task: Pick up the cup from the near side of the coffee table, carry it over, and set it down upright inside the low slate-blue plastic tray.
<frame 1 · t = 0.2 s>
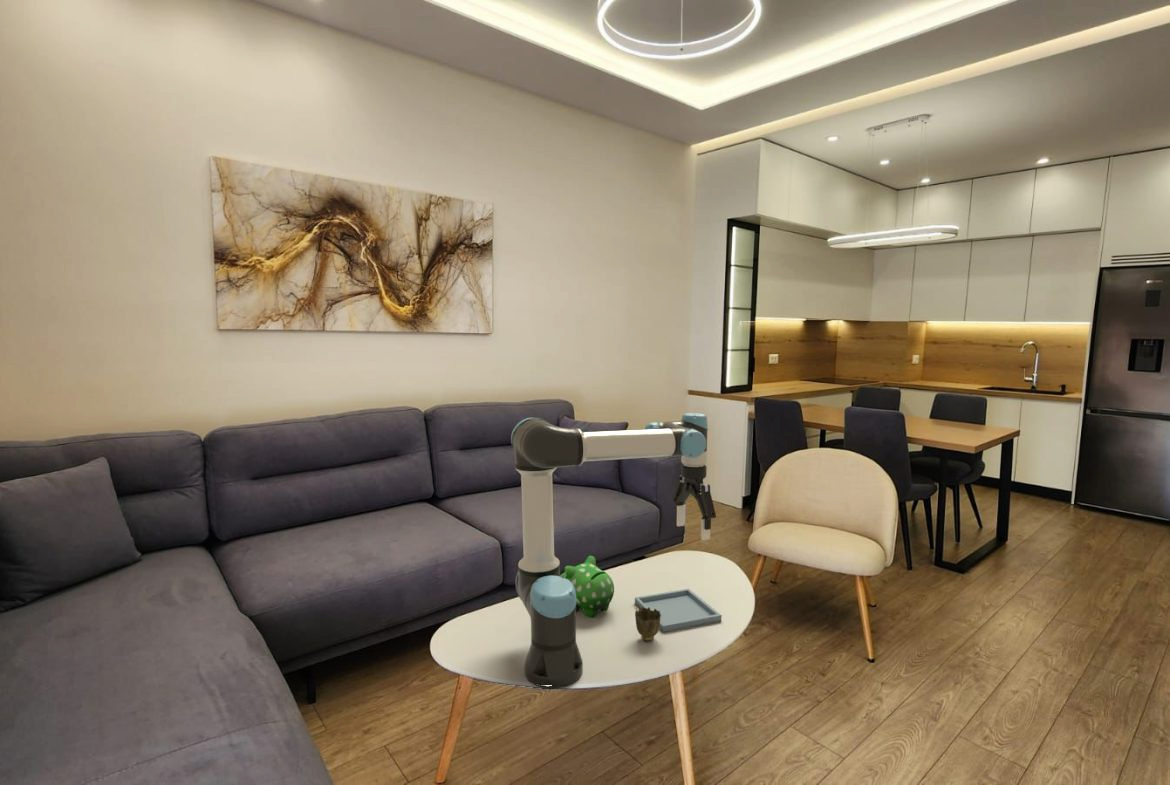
hand: (692, 532, 176), 27 cm above the table, fingers open, 13 cm apart
piggy bank: (586, 609, 185), on the table
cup: (647, 640, 166), on the table
tray: (676, 612, 183), on the table
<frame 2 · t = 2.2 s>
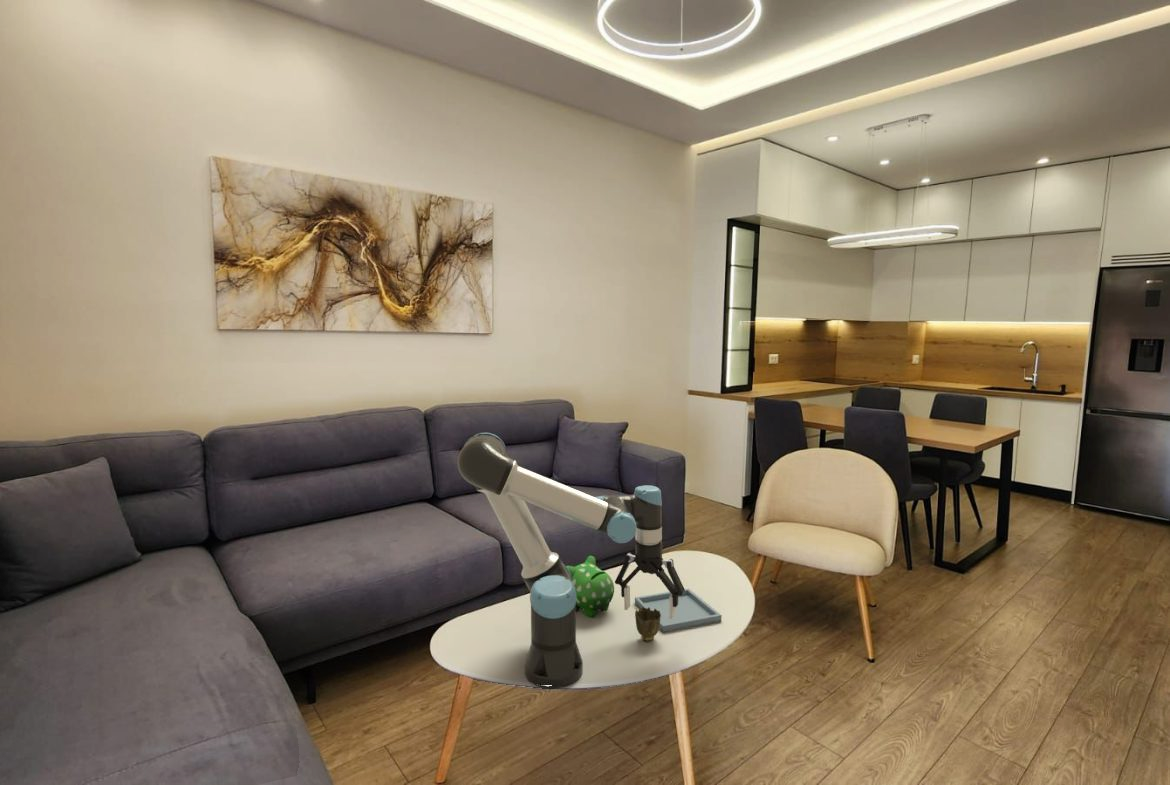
hand: (649, 612, 165), 8 cm above the table, fingers open, 13 cm apart
nothing on the table moved.
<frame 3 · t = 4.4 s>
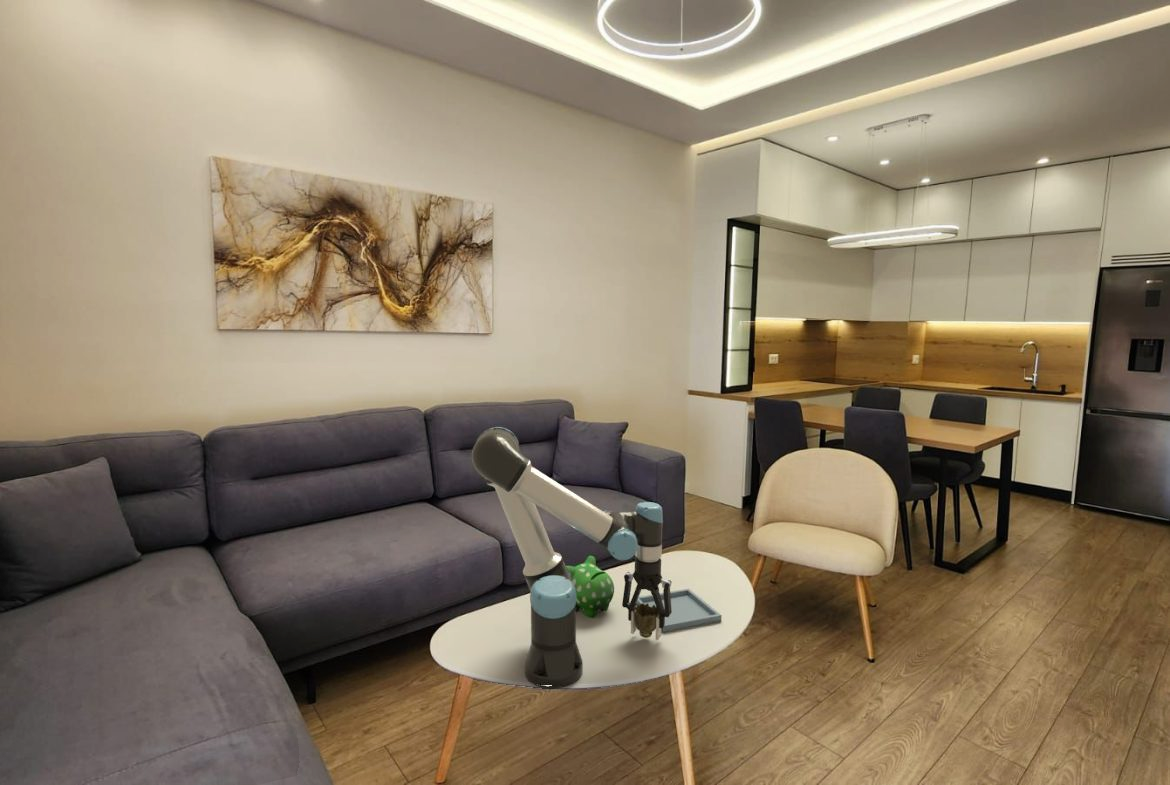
hand: (645, 634, 166), 2 cm above the table, fingers closed on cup, 7 cm apart
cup: (645, 636, 166), point 1 cm above the table, touching gripper
everything else where it was.
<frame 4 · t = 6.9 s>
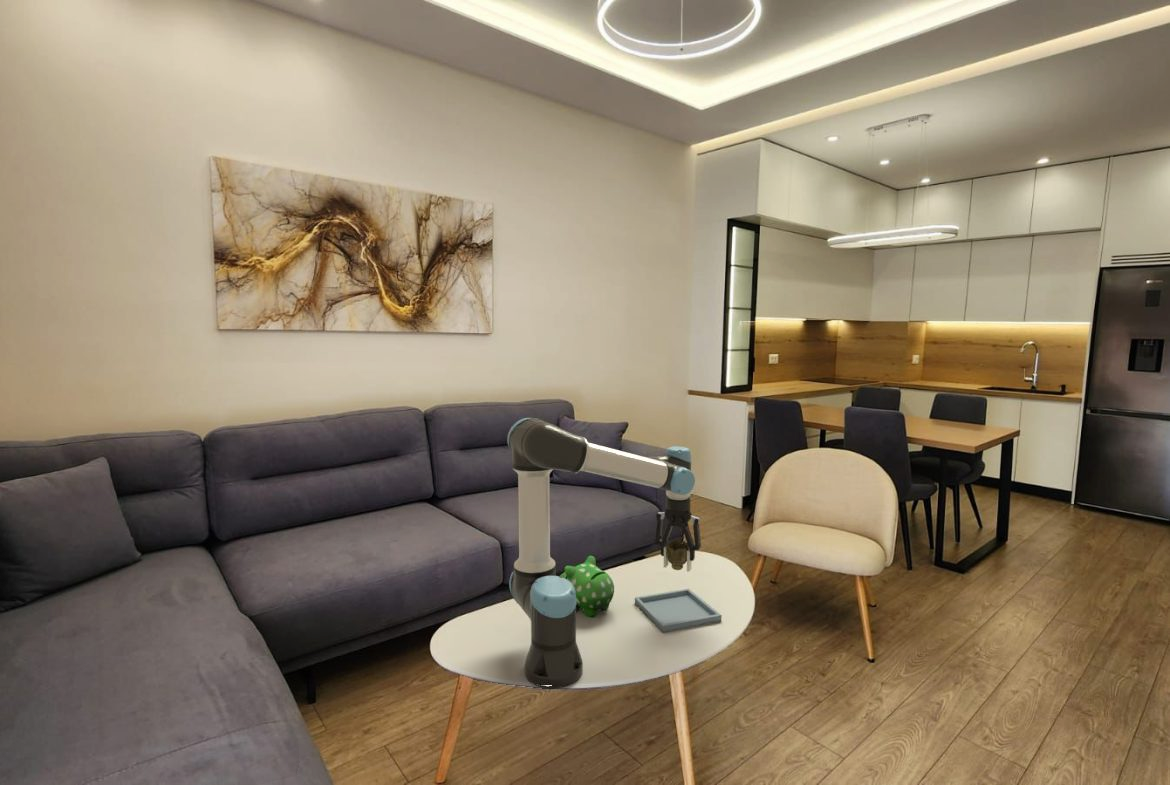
hand: (677, 567, 181), 15 cm above the table, fingers closed on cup, 7 cm apart
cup: (677, 569, 181), point 14 cm above the table, touching gripper
everything else where it was.
when the fingers open (1 cm above the table, at t = 9.2 s): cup stays where it is, resting on tray.
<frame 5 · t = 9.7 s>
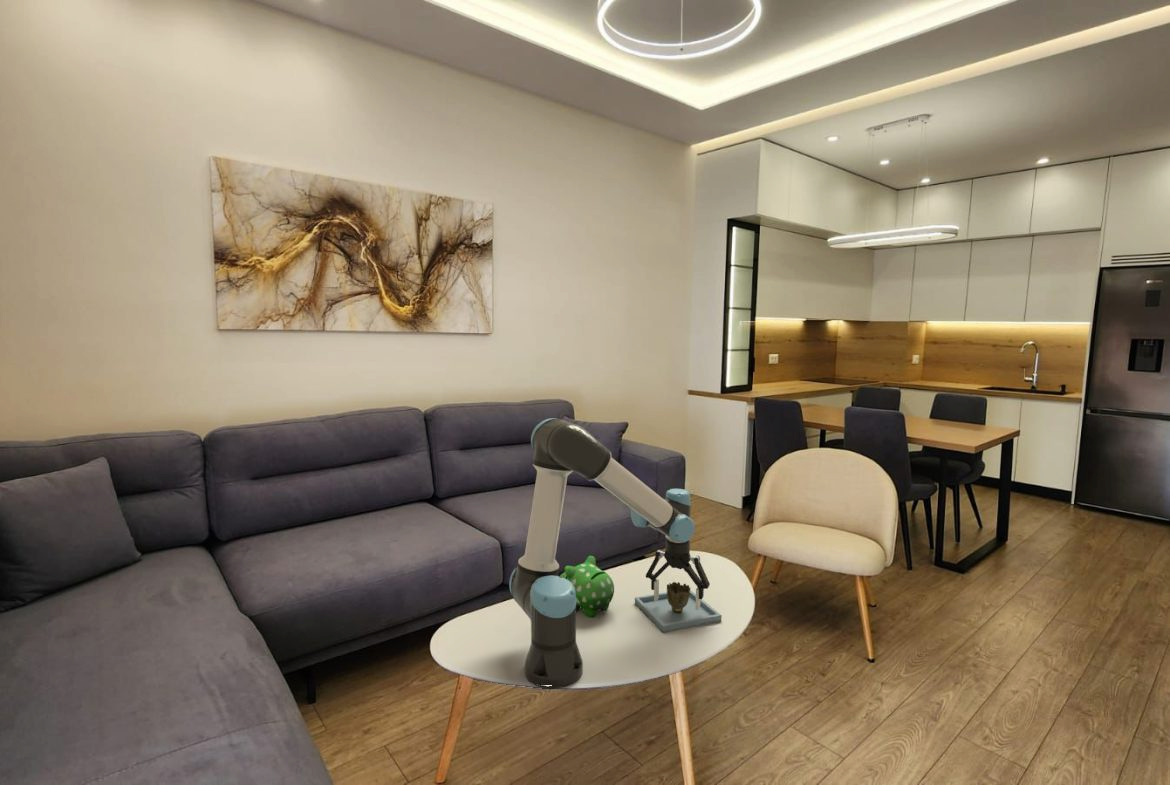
hand: (676, 603, 182), 3 cm above the table, fingers open, 13 cm apart
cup: (676, 611, 182), resting on tray
everything else where it was.
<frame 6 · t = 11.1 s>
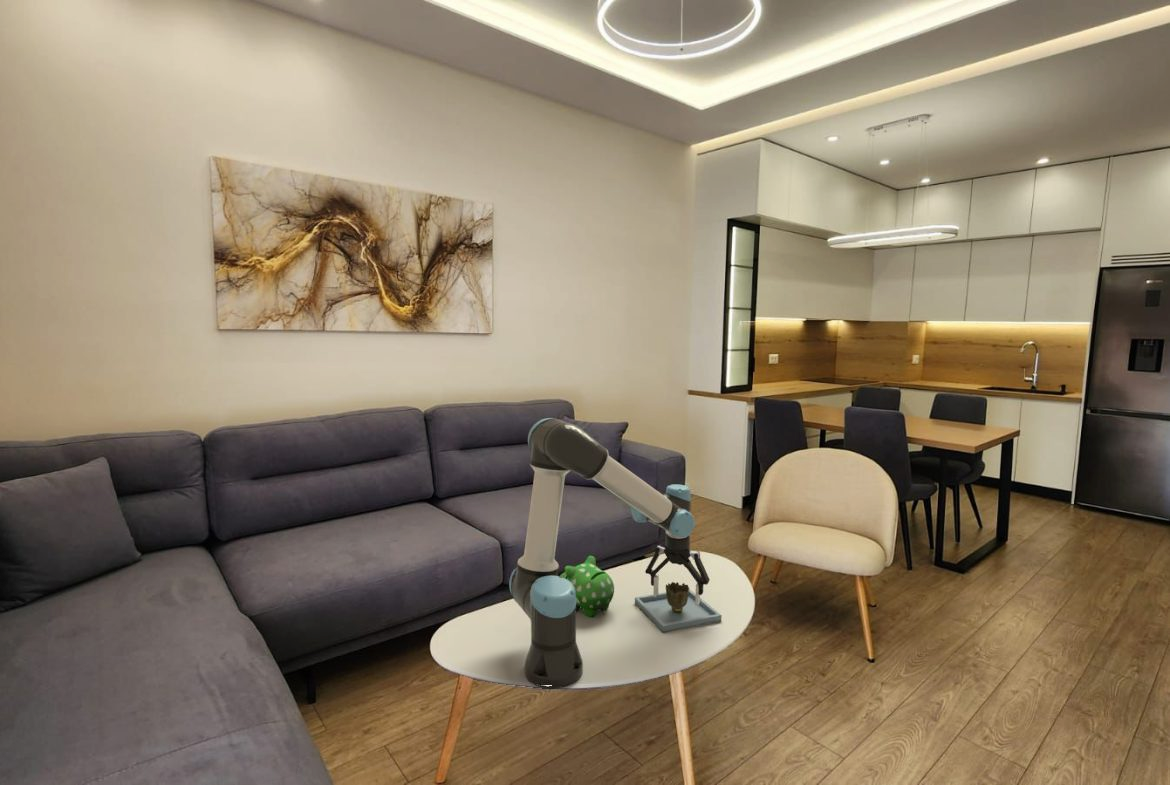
hand: (676, 599, 182), 4 cm above the table, fingers open, 13 cm apart
nothing on the table moved.
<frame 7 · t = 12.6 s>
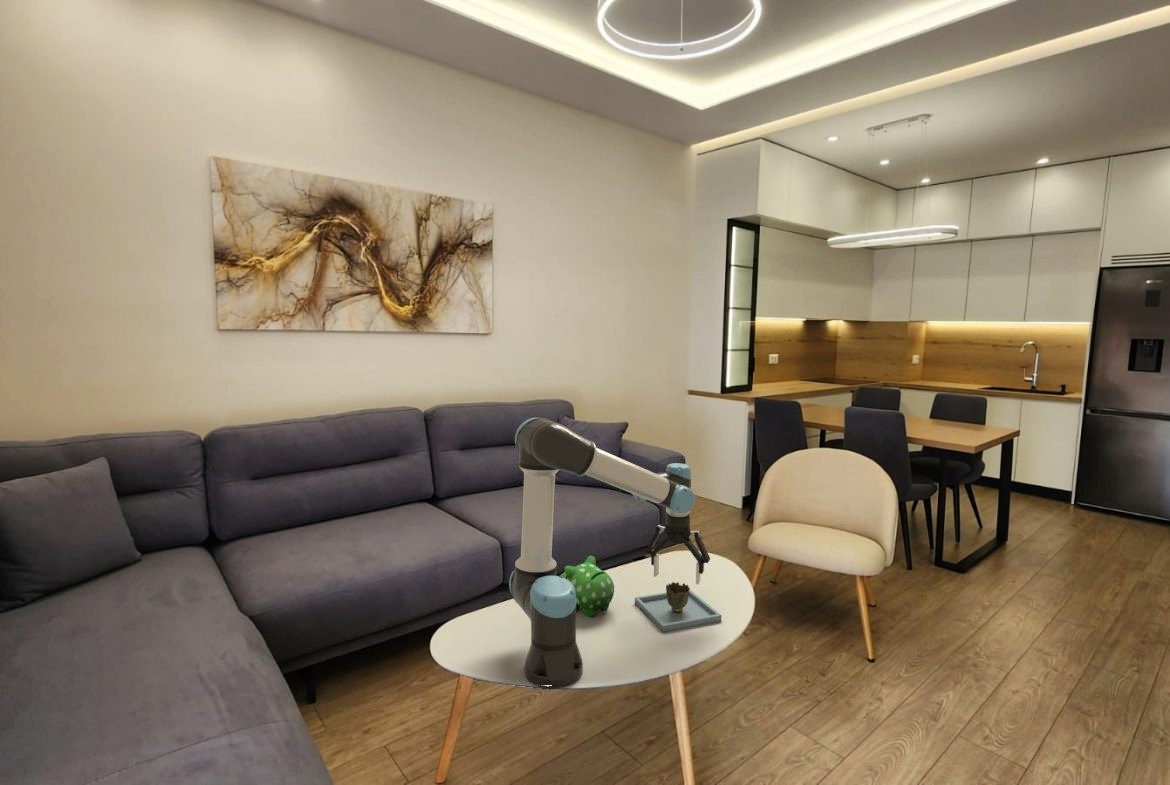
hand: (676, 579, 182), 11 cm above the table, fingers open, 13 cm apart
nothing on the table moved.
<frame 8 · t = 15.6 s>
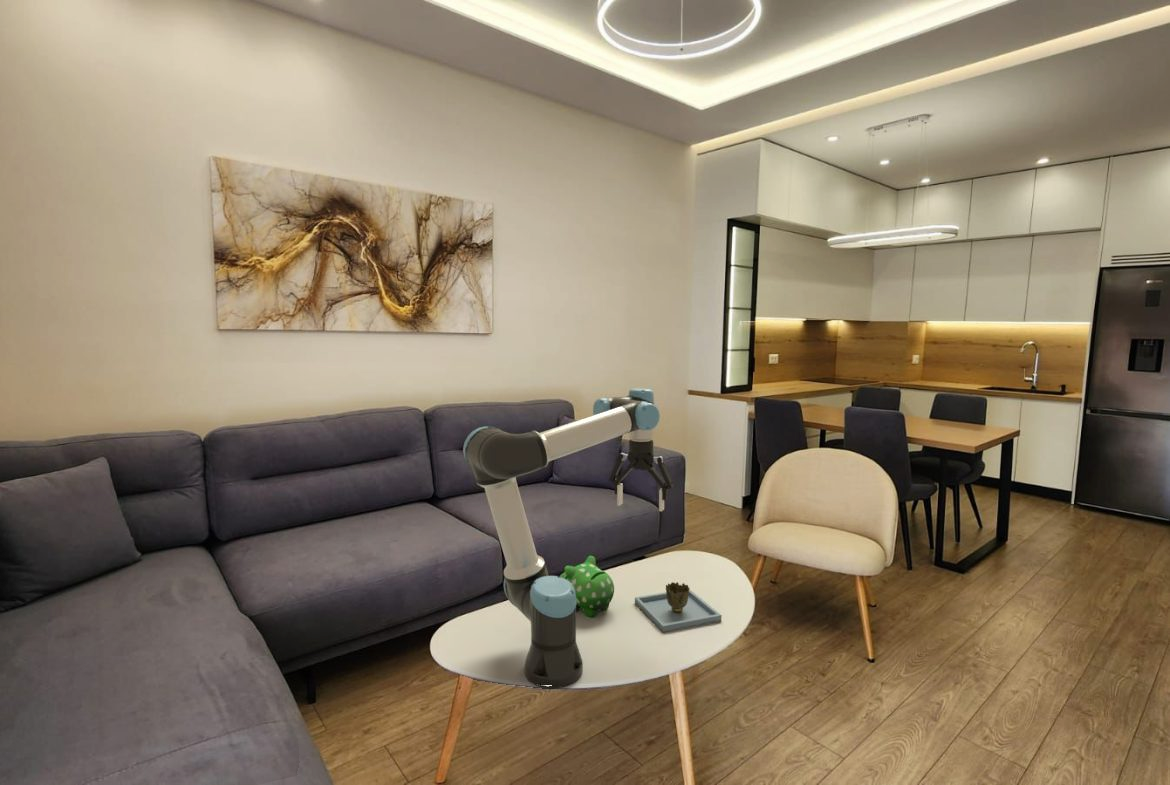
hand: (640, 507, 177), 35 cm above the table, fingers open, 13 cm apart
nothing on the table moved.
at the end: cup inside the target area on the tray (0.4 cm from its centre), point 0.3 cm above the tray's base; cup tilted 1°; the gripper is holding nothing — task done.
